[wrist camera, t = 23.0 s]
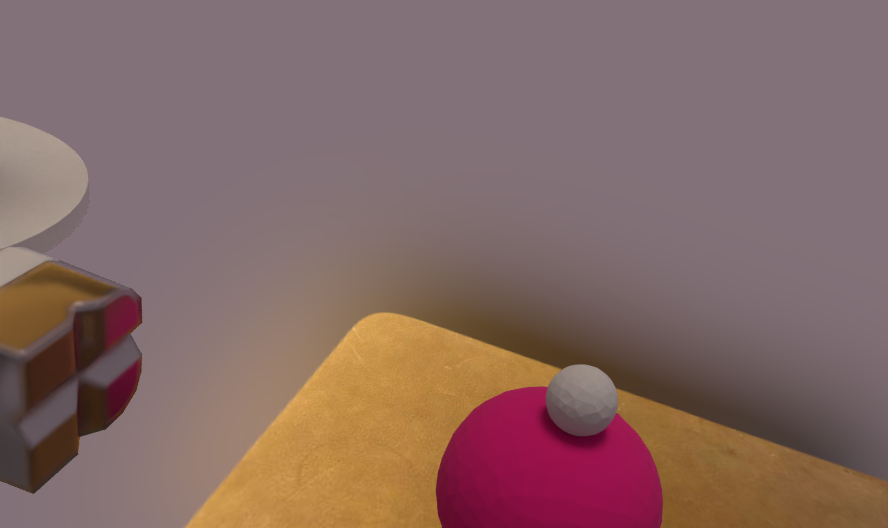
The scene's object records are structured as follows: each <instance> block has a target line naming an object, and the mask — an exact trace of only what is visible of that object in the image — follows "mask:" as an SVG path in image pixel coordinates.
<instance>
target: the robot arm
mask: <svg viewBox="0 0 888 528" xmlns="http://www.w3.org/2000/svg"><path fill="white" fill-rule="evenodd" d="M141 323H142V305H141V297H140V296H139V295H138V294H137V293H136V292H135V291H134V290H133V289H131V288H128V287H126V286H123V285H121V284H118V283H116V282H113V281H111V280H108V279H106V278H103V277H100V276H98V275H96V274H93V273H91V272H88V271H86V270H83V269H81V268H78V267H75V266H73V265H70V264H68V263H65V262H63V261H57V260H55V259H53V258H51V257H48V256H46V255H43V254H41V253H38V252H36V251H33V250H30V249H28V248H25V247H7V248H5V249H3V250H1V251H0V481H2V482H4V483H7V484H10V485H12V486H15V487H17V488H20V489H22V490H25V491H27V492H30V493H33V494H34V493H35V492H36V491H37V490H39V489H40V488H41V487H42V486H43V485H44V484H45V483H46V482H47V481H49V480H50V479H51V478H52V477H53V476H54V475H55V474H56V473H58V472H59V471H60V470H61V469H62V468H63V467H64V466H65V465H66V464H67V463H69V462H70V461H71V460H72V459H73V458H74V457H75V456H77V455H78V449H79V440H80V437H81V436H84V435H88V434H91V433H94V432H98V431H101V430H105V429H106V428H107V427H109V426H110V425H111V424H112V423H113V422H114V421H115V420H116V419H117V418H118V417H119V416H120V415H121V414H122V413H123V412H124V410H125V408H126V407H127V405H128V404H129V402H130V400H131V399H132V397H133V395H134V394H135V392H136V390H137V386H138V382H139V378H140V374H141V365H142V354H141V352H140V350H139V349H138V347H137V345H136V343H135V341H134V339H133V338H132V336H131V333H132V332H133V330H135V329H136V328H137V327H138V326H139V325H140V324H141Z"/></svg>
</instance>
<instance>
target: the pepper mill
mask: <svg viewBox="0 0 888 528" xmlns="http://www.w3.org/2000/svg"><path fill="white" fill-rule="evenodd" d="M617 406H618V397H617V391H616V389H615V386H614V384H613V382H612V380H611V379H610V378H609V377H608V376H607V375H606V374H605V373H603V372H602V371H600V370H599V369H598V368H596V367H592V366H589V365H572V366H569V367H566V368H565V369H563V370H561V371H560V372H559V373H558V374H556V375H555V376H554V377H553V379H552V380H551V382H550V384H549V386H548V387H526V388H520V389H515V390H510V391H506V392H504V393H502V394H500V395H497V396H495V397H493V398H491V399H489V400H487V401H485V402H484V403H482V404H481V405H480V406H478V407H477V408H475V409H474V410H473V411H472V412H471V413H470V414H469V415H468V417H467V418H466V419H465V420H464V421H463V422H462V423H461V425H460V426H459V427H458V428H457V430H456V431H455V432H454V434H453V436H452V438H451V440H450V442H449V444H448V446H447V448H446V451H445V453H444V455H443V457H442V460H441V464H440V467H439V471H438V477H437V485H436V497H437V509H438V516H439V519H440V522H441V525H442V528H660V526H661V522H662V507H663V500H662V488H661V483H660V479H659V475H658V472H657V469H656V466H655V463H654V461H653V459H652V456H651V454H650V452H649V450H648V449H647V447H646V445H645V444H644V442H643V441H642V439H641V438H640V436H639V435H638V433H637V432H636V431H635V430H634V429H633V428H632V427H631V426H630V425H629V424H628V423H627V422H626V421H625V420H624V419H623V418H622V417H621V416H620V415H619V414H617V413H616V411H617Z"/></svg>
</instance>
